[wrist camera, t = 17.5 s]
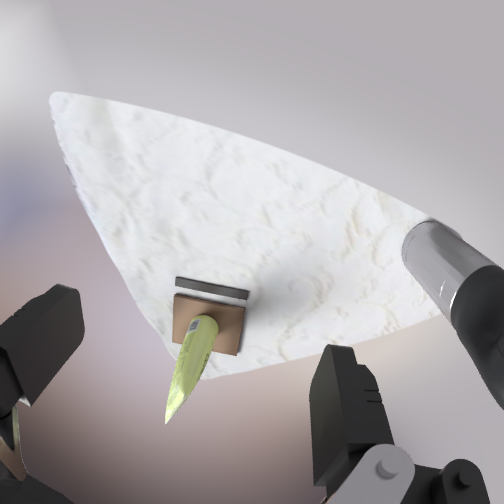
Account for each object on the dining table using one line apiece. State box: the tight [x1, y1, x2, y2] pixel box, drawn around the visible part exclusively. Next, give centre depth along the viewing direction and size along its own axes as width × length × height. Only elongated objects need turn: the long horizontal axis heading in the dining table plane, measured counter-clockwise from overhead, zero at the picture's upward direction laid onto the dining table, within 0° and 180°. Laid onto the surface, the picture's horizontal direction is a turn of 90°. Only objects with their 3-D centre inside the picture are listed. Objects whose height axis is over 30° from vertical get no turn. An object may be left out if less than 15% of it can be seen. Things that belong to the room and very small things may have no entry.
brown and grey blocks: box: [172, 277, 248, 356], centre depth 51 cm, size 12×13×1 cm
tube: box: [165, 315, 219, 424], centre depth 42 cm, size 6×5×20 cm
